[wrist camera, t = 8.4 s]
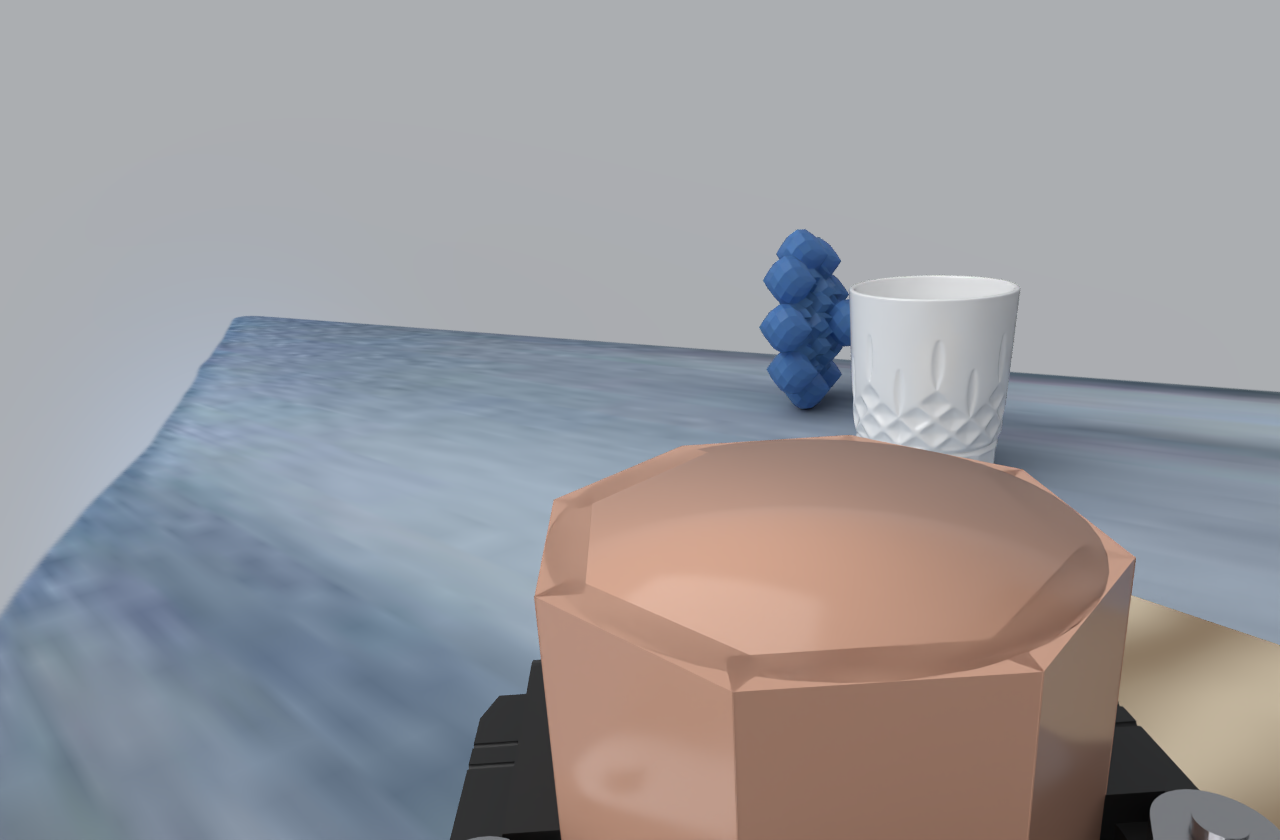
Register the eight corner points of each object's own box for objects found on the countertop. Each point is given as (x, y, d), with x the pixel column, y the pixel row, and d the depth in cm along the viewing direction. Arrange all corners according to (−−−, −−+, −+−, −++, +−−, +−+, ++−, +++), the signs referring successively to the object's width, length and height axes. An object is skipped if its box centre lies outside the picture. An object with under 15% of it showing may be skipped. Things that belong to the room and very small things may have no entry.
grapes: (846, 441, 50) (851, 236, 47) (740, 429, 53) (737, 237, 50) (890, 391, 60) (896, 218, 56) (798, 384, 63) (798, 220, 60)
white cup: (1024, 467, 45) (1039, 278, 42) (976, 520, 39) (990, 303, 36) (881, 444, 49) (887, 272, 46) (819, 487, 44) (821, 294, 41)
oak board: (1629, 820, 20) (1647, 768, 20) (1517, 1354, 12) (1545, 1284, 11) (915, 555, 36) (916, 523, 35) (636, 704, 27) (633, 663, 27)
